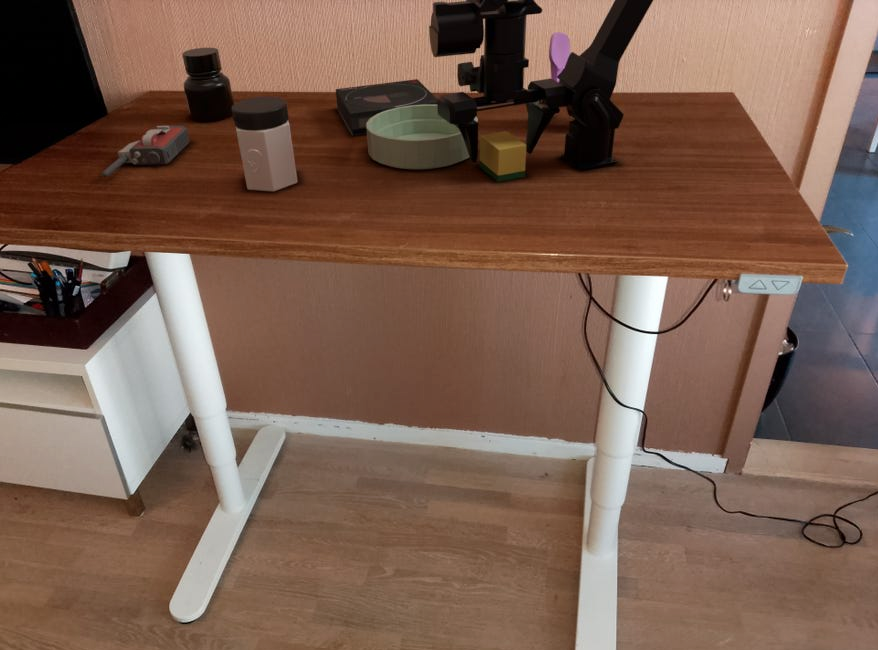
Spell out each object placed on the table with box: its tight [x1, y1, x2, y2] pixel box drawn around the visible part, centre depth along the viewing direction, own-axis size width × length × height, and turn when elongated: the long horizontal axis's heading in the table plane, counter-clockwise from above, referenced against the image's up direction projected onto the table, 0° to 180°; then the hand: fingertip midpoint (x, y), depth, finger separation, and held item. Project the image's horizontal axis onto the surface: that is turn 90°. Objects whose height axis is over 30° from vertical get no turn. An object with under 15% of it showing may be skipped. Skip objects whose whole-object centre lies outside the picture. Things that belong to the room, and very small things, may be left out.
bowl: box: [366, 104, 479, 170], centre depth 119 cm, size 18×18×5 cm
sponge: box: [479, 130, 527, 183], centre depth 110 cm, size 4×7×5 cm, turn 18°
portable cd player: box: [335, 78, 439, 137], centre depth 135 cm, size 16×17×4 cm
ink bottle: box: [181, 47, 235, 122], centre depth 140 cm, size 10×9×12 cm
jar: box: [232, 96, 298, 193], centre depth 110 cm, size 9×8×12 cm
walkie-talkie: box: [101, 125, 191, 178], centre depth 123 cm, size 9×4×20 cm
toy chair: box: [548, 31, 571, 82], centre depth 123 cm, size 8×9×15 cm
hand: (501, 157), depth 110 cm, fingers open, 9 cm apart
